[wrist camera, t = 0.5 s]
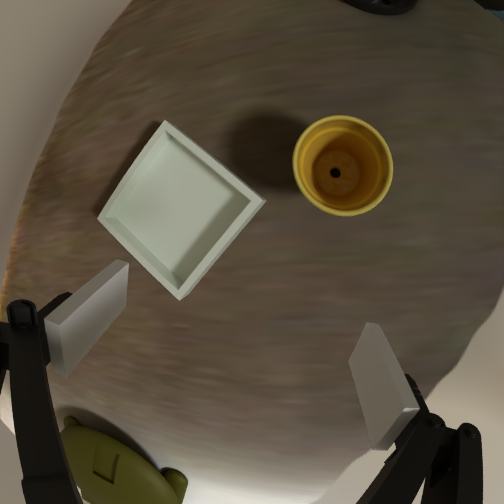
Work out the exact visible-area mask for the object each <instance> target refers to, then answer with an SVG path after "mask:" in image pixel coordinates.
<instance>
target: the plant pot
mask: <svg viewBox="0 0 504 504" xmlns="http://www.w3.org/2000/svg"><path fill="white" fill-rule="evenodd" d="M292 165H293V173H294V177H295V180H296V183H297V185H298V187H299V189H300V191H301V192H302V194H303V195H304V196H305V198H306V199H307V200H308V201H309V202H310V203H311V204H313V205H314V206H315V207H317V208H318V209H320V210H322V211H324V212H326V213H329V214H332V215H337V216H354V215H359V214H362V213H364V212H367V211H369V210H370V209H372V208H373V207H375V206H376V205H377V204H378V203H379V202H380V201H381V200H382V199H383V198H384V196H385V195H386V193H387V191H388V189H389V187H390V184H391V181H392V176H393V162H392V156H391V153H390V150H389V148H388V146H387V144H386V142H385V140H384V139H383V137H382V136H381V135H380V134H379V133H378V132H377V131H376V130H375V129H374V128H373V127H372V126H371V125H369V124H368V123H366V122H364V121H362V120H360V119H358V118H355V117H351V116H346V115H333V116H328V117H325V118H322V119H320V120H318V121H316V122H314V123H312V124H311V125H310V126H309V127H307V128H306V129H305V130H304V132H303V133H302V134H301V136H300V137H299V139H298V141H297V143H296V145H295V148H294V152H293V159H292ZM334 168H337V169H338V170H339V171H340V176H339V177H338V178H334V177H332V175H331V170H332V169H334Z"/></svg>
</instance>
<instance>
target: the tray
mask: <svg viewBox="0 0 504 504" xmlns="http://www.w3.org/2000/svg"><path fill="white" fill-rule="evenodd" d="M265 202H266V200H265V199H264V198H263V197H262V196H260V195H259V194H258V193H257V192H256V191H255V190H253V189H252V188H251V187H250V186H249V185H247V184H246V183H245V182H244V181H243V180H241V179H240V178H239V177H238V176H237V175H235V174H234V173H233V172H232V171H231V170H229V169H228V168H227V167H226V166H225V165H223V164H222V163H221V162H220V161H218V160H217V159H216V158H215V157H214V156H212V155H211V154H210V153H209V152H207V151H206V150H205V149H204V148H202V147H201V146H200V145H199V144H197V143H196V142H195V141H194V140H192V139H191V138H190V137H189V136H187V135H186V134H185V133H184V132H182V131H181V130H180V129H178V128H177V127H176V126H174V125H173V124H171V123H169V122H167V121H166V120H164V122H163V123H162V124H161V125H160V127H159V128H158V129H157V131H156V132H155V133H154V135H153V136H152V137H151V139H150V140H149V141H148V143H147V144H146V145H145V147H144V148H143V150H142V151H141V152H140V154H139V155H138V157H137V158H136V159H135V161H134V162H133V164H132V165H131V167H130V168H129V170H128V171H127V173H126V174H125V175H124V177H123V178H122V180H121V181H120V183H119V185H118V186H117V188H116V189H115V191H114V192H113V194H112V195H111V197H110V199H109V200H108V202H107V203H106V205H105V207H104V208H103V210H102V211H101V213H100V215H99V216H98V218H97V219H98V220H99V221H100V222H101V223H102V224H103V226H104V227H105V228H106V229H107V230H108V231H109V232H110V233H111V234H112V235H113V236H114V237H115V238H116V239H117V240H118V241H119V242H120V243H121V244H122V245H123V246H124V247H125V248H126V249H127V250H128V251H129V252H130V253H131V254H132V255H133V256H134V257H135V258H136V259H137V260H138V261H139V262H140V263H141V264H142V265H143V266H144V267H145V268H146V269H147V270H148V271H149V272H150V273H151V274H152V275H153V276H154V277H155V278H156V279H157V280H158V281H159V282H160V283H161V284H162V285H163V286H164V287H165V288H167V289H168V290H169V291H170V292H171V293H172V294H173V295H174V296H175V297H176V298H177V299H178V300H179V301H180V300H181V299H182V298H184V297H185V296H187V295H188V294H189V293H190V292H191V291H192V289H193V288H194V287H195V286H196V285H197V283H198V282H199V281H200V280H201V278H202V277H203V276H204V275H205V274H206V272H207V271H208V270H209V269H210V268H211V266H212V265H213V264H214V263H215V261H216V260H217V259H218V258H219V257H220V255H221V254H222V253H223V252H224V251H225V249H226V248H227V247H228V246H229V245H230V243H231V242H232V241H233V240H234V239H235V238H236V236H237V235H238V234H239V233H240V232H241V230H242V229H243V228H244V227H245V226H246V224H247V223H248V222H249V221H250V220H251V219H252V217H253V216H254V215H255V214H256V213H257V211H258V210H259V209H260V208H261V207H262V206H263V204H264V203H265Z"/></svg>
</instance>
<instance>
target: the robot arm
mask: <svg viewBox="0 0 504 504" xmlns="http://www.w3.org/2000/svg"><path fill="white" fill-rule="evenodd" d="M344 1H346V2H348V3H349V4H351V5H353V6H355V7H357V8H359V9H362V10H365V11H368V12H371V13H376V14H382V15H397V14H402V13H405V12H407V11H409V10H411V9H412V8H413V7H414V6H415V5H416V3H417V1H418V0H344ZM474 1H475V2H477V3H478V4H480V6H481V7H482V8H483V9H485V10H487V11H488V12H491V13H492V14H494V15H495V16H497V17H498V18H499V19H501V20H502V21H504V0H474ZM128 268H129V263H127V262H124V261H121V260H117V259H116V260H115V261H114V262H112V263H111V264H110V265H109V266H107V267H106V268H105V269H103V270H102V271H101V272H100V273H98V274H97V275H96V276H95V277H93V278H92V279H91V280H90V281H88V282H87V283H86V284H85V285H83V286H82V287H81V288H80V289H79V290H77V291H76V292H75V293H74V294H72V293H69V292H66V293H63V294H60V295H58V296H57V297H56V298H54V299H53V300H52V301H51V302H49V303H48V304H47V305H46V306H44V307H43V308H42V309H41V310H40V311H38V312H37V310H36V306H35V304H34V303H33V302H32V301H29V300H24V299H20V300H15V301H13V302H11V303H10V304H9V305H8V306H7V308H6V310H7V316H8V321H9V323H5V322H0V394H1V390H2V386H3V382H4V378H5V374H6V370H9V371H10V390H11V402H12V412H13V420H14V428H15V435H16V440H17V447H18V452H19V458H20V462H21V467H22V472H23V480H22V482H21V483H22V489H23V494H24V497H25V501H26V504H83V501H82V499H81V496H80V494H79V491H78V489H77V486H76V483H75V481H74V478H73V475H72V472H71V469H70V466H69V463H68V460H67V457H66V453H65V450H64V447H63V443H62V440H61V436H60V432H59V429H58V425H57V421H56V417H55V412H54V408H53V403H52V399H51V394H50V389H49V383H48V378H47V372H46V366H47V365H48V364H49V362H51V368H52V372H54V373H56V374H58V375H61V376H63V377H65V378H67V377H68V376H69V375H70V373H71V372H72V371H73V369H74V368H75V367H76V366H77V364H78V363H79V362H80V361H81V360H82V358H83V357H84V356H85V355H86V353H87V352H88V351H89V350H90V349H91V347H92V346H93V345H94V344H95V342H96V341H97V340H98V339H99V338H100V336H101V335H102V334H103V333H104V332H105V330H106V329H107V328H108V327H109V326H110V325H111V323H112V322H113V321H114V320H115V319H116V318H117V316H118V315H119V314H120V313H121V312H122V311H123V309H124V308H125V307H126V294H127V280H128ZM348 362H349V365H350V368H351V372H352V375H353V379H354V382H355V386H356V389H357V393H358V397H359V400H360V404H361V407H362V411H363V415H364V419H365V422H366V426H367V430H368V434H369V438H370V442H371V446H372V450H388V449H389V448H390V446H391V445H392V444H393V443H394V442H395V445H396V450H395V451H394V452H393V453H392V454H391V455H390V456H389V457H388V459H387V460H386V461H385V462H384V463H385V465H384V466H383V468H382V469H381V471H380V472H379V474H378V475H377V476H376V478H375V479H374V481H373V482H372V483H371V485H370V486H369V488H368V489H367V490H366V491H365V493H364V494H363V495H362V497H361V498H360V499H359V500H358V502H357V503H356V504H412V502H413V500H414V498H415V497H416V495H417V493H418V491H419V489H420V487H421V485H422V483H423V481H424V479H425V483H424V489H423V495H422V500H421V504H483V459H482V442H481V434H480V432H479V430H478V429H477V427H475V426H474V425H472V424H470V423H463V424H461V425H460V427H459V428H458V429H457V430H456V429H452V428H448V427H446V425H445V422H444V421H443V419H442V418H441V417H439V416H438V415H436V414H434V413H430V412H429V410H428V407H427V405H426V403H425V401H424V399H423V397H422V395H421V393H420V391H419V390H418V387H417V385H416V383H415V381H414V380H413V379H412V378H411V377H410V376H409V375H408V374H404V373H403V371H402V369H401V367H400V365H399V363H398V361H397V359H396V357H395V355H394V353H393V351H392V349H391V347H390V345H389V343H388V341H387V339H386V337H385V335H384V333H383V331H382V329H381V327H380V326H379V324H374V323H370V322H367V323H366V325H365V327H364V330H363V332H362V334H361V336H360V338H359V340H358V342H357V345H356V347H355V349H354V351H353V353H352V355H351V357H350V359H349V361H348Z"/></svg>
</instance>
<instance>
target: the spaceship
mask: <svg viewBox="0 0 504 504" xmlns="http://www.w3.org/2000/svg"><path fill="white" fill-rule="evenodd" d="M64 427H65V429H63V430H62V432H61V433H60V436H61V440H62V443H63V447H64V450H65V453H66V457H67V460H68V463H69V466H70V469H71V472H72V475H73V478H74V481H75V483H76V485H77V486H78V487H79V488H80V489H81V494H82V498H83V499H84V500H86V501H87V502H89V503H91V504H182V502H183V499H184V495H185V492H186V488H187V485H188V480H187V478H186V476H185V475H183V474H182V473H180V472H178V471H175V470H170V471H167V472H166V473H165V475H164V477H163V476H162V475H161V474H160V473H159V472H158V471H157V470H156V469H155V468H154V467H153V466H152V465H151V464H150V463H149V462H147V461H146V460H145V459H144V458H142V457H141V456H140V455H139V454H137V453H136V452H134V451H133V450H131V449H130V448H129V447H127V446H126V445H124V444H122V443H120V442H119V441H117V440H115V439H114V438H112V437H110V436H108V435H105V434H103V433H101V432H99V431H96V430H93V429H90V428H87V427H81V425H80V423H79V422H78V421H77V420H76V419H75V418H73V417H70V416H67V417H65V418H64Z"/></svg>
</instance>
